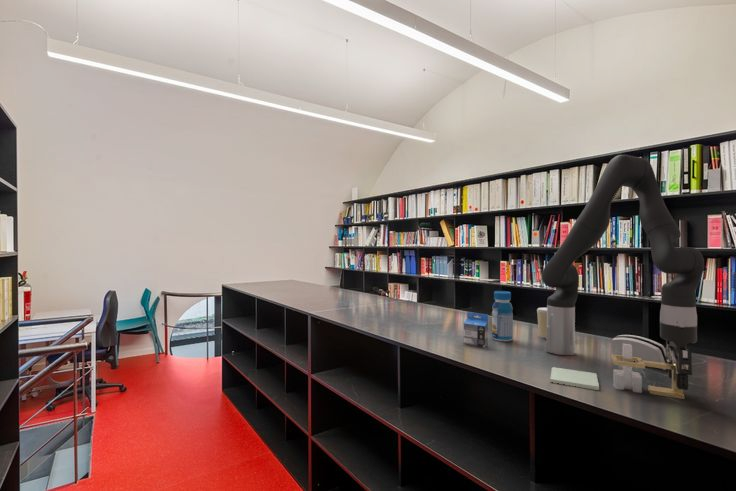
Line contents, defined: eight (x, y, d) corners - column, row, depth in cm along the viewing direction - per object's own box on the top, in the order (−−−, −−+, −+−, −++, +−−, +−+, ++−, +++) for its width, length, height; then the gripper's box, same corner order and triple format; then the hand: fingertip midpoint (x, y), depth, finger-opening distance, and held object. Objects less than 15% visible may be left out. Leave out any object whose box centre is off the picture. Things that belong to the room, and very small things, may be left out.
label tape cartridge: (462, 343, 149) (463, 313, 149) (466, 341, 152) (467, 311, 152) (484, 347, 143) (485, 315, 143) (488, 345, 146) (488, 314, 146)
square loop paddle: (613, 389, 102) (613, 360, 102) (610, 381, 108) (611, 354, 108) (685, 401, 94) (686, 370, 94) (678, 391, 101) (678, 362, 101)
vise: (615, 388, 102) (615, 345, 102) (611, 376, 112) (611, 336, 112) (641, 393, 100) (642, 348, 100) (635, 380, 109) (635, 339, 109)
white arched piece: (674, 367, 121) (668, 340, 119) (666, 374, 119) (660, 346, 117) (620, 354, 136) (614, 329, 134) (612, 359, 134) (607, 334, 132)
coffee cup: (565, 338, 158) (565, 310, 158) (547, 340, 155) (548, 311, 155) (549, 333, 167) (549, 306, 167) (532, 334, 164) (532, 307, 164)
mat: (550, 382, 107) (550, 378, 107) (551, 370, 118) (551, 367, 118) (599, 390, 101) (599, 386, 101) (596, 376, 112) (596, 373, 112)
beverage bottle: (506, 343, 150) (507, 293, 150) (487, 339, 156) (488, 291, 156) (516, 339, 156) (516, 292, 156) (497, 335, 162) (498, 290, 162)
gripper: (654, 316, 106) (654, 373, 106) (666, 325, 94) (666, 390, 93) (688, 319, 102) (688, 377, 102) (705, 329, 90) (705, 395, 90)
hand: (677, 383), depth 98 cm, fingers open, 8 cm apart
